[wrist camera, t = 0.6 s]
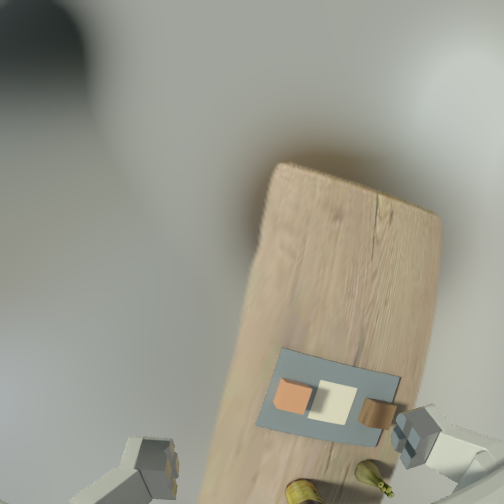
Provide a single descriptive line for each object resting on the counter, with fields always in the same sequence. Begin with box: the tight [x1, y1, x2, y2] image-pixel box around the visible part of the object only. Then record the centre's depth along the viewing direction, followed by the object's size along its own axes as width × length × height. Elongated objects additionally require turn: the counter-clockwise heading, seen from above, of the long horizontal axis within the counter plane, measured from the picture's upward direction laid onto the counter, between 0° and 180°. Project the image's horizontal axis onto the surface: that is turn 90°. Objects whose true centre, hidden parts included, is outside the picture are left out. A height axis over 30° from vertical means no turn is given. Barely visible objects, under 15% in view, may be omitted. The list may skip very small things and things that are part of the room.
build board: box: [256, 348, 400, 447], centre depth 56 cm, size 26×16×1 cm, turn 72°
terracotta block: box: [273, 378, 312, 415], centre depth 53 cm, size 5×5×5 cm
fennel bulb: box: [355, 460, 394, 498], centre depth 47 cm, size 6×5×12 cm
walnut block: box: [358, 398, 397, 430], centre depth 53 cm, size 5×5×5 cm
